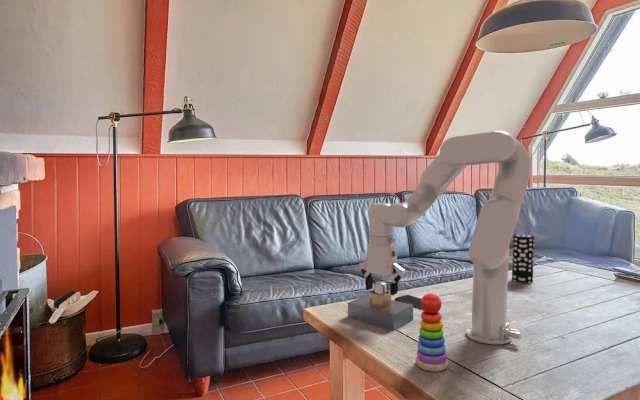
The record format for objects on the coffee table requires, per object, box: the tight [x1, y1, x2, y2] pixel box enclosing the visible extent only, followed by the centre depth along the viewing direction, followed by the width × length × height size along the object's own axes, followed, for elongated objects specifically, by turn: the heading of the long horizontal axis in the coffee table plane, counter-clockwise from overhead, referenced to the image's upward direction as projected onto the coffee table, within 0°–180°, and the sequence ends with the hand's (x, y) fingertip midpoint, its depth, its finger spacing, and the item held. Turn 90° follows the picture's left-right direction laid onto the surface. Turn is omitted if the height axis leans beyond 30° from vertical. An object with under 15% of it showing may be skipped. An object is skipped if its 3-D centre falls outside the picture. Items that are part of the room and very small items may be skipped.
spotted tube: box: [511, 233, 535, 284], centre depth 189 cm, size 8×8×20 cm
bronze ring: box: [369, 288, 392, 307], centre depth 144 cm, size 7×7×4 cm
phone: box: [394, 294, 424, 311], centre depth 160 cm, size 8×1×15 cm
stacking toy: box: [415, 292, 449, 372], centre depth 110 cm, size 8×8×19 cm
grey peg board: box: [347, 281, 414, 331], centre depth 144 cm, size 18×12×12 cm, turn 48°
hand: (381, 291), depth 144 cm, fingers open, 9 cm apart
